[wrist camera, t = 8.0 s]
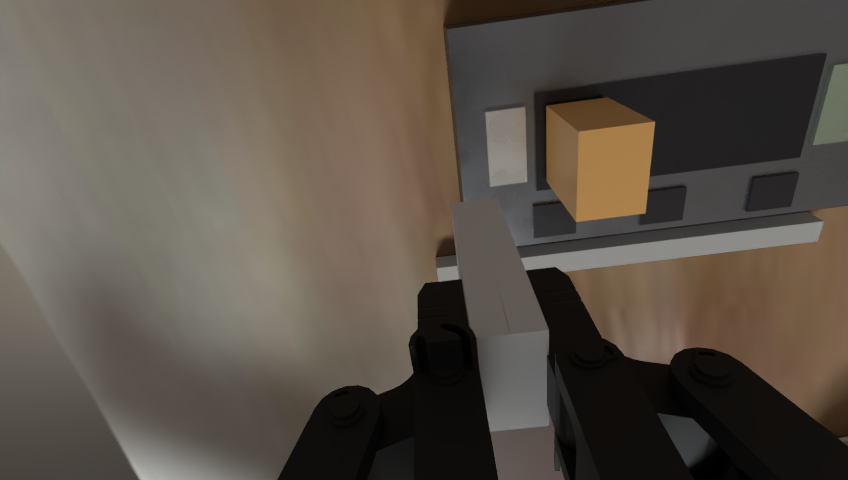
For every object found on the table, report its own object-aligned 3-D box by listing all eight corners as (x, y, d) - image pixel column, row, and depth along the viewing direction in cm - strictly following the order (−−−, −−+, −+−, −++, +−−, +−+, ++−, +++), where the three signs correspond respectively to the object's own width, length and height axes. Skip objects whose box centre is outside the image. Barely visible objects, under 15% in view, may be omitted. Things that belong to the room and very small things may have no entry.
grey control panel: (463, 229, 30) (468, 254, 27) (443, 25, 24) (447, 29, 21) (813, 185, 29) (857, 206, 26) (876, -37, 23) (941, -41, 20)
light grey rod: (438, 275, 31) (439, 286, 30) (435, 257, 31) (436, 268, 29) (801, 231, 30) (817, 241, 29) (806, 211, 30) (823, 221, 28)
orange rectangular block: (546, 181, 25) (576, 222, 20) (546, 105, 23) (578, 131, 18) (603, 174, 24) (645, 213, 20) (607, 97, 23) (655, 121, 18)
